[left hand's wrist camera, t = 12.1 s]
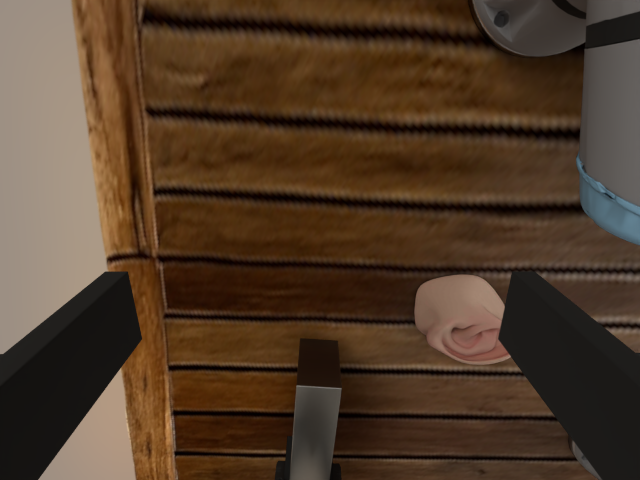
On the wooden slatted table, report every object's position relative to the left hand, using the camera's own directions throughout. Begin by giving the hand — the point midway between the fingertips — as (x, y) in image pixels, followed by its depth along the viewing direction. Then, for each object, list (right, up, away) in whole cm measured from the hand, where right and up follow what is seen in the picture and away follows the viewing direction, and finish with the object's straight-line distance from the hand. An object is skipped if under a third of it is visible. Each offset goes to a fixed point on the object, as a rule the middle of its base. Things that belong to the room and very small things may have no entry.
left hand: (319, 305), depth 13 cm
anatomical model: (+18, -7, +35) cm, 41 cm away
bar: (-1, -21, +39) cm, 44 cm away
